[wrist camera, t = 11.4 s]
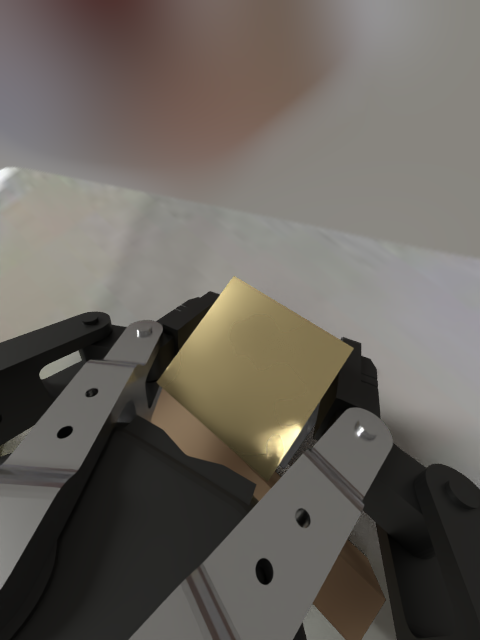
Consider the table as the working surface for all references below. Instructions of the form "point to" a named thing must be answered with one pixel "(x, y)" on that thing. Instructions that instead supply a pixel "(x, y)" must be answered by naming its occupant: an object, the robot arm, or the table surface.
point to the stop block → (254, 374)
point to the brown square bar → (199, 442)
